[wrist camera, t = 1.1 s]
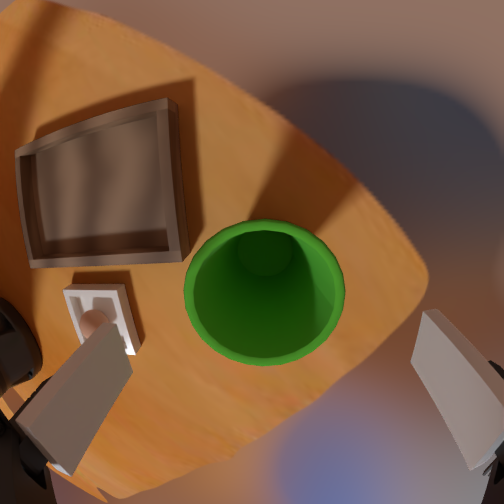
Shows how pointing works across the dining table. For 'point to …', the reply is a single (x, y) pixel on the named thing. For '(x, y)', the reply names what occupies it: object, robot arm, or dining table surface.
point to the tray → (105, 190)
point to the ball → (91, 321)
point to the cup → (264, 292)
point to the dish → (103, 309)
